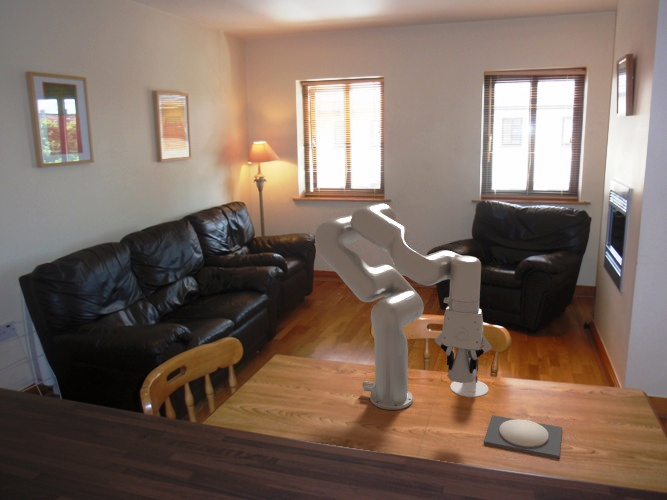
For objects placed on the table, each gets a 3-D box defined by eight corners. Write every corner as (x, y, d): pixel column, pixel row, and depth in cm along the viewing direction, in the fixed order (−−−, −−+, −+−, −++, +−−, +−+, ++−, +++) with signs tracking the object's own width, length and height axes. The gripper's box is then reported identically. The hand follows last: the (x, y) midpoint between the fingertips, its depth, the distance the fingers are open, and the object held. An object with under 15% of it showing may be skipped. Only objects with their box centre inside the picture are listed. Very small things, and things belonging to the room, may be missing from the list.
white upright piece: (489, 399, 169) (491, 352, 166) (449, 396, 172) (450, 349, 168) (487, 381, 180) (489, 336, 177) (450, 378, 183) (451, 334, 179)
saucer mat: (483, 444, 147) (483, 438, 146) (491, 417, 159) (492, 412, 159) (559, 458, 140) (559, 453, 139) (561, 430, 152) (562, 424, 152)
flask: (475, 385, 149) (477, 349, 146) (447, 382, 150) (448, 347, 148) (474, 372, 155) (476, 338, 153) (447, 370, 157) (448, 336, 154)
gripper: (427, 304, 148) (426, 370, 152) (496, 313, 141) (492, 381, 146) (435, 296, 154) (433, 359, 159) (500, 303, 148) (496, 369, 152)
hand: (461, 369), depth 152 cm, fingers closed on flask, 4 cm apart
